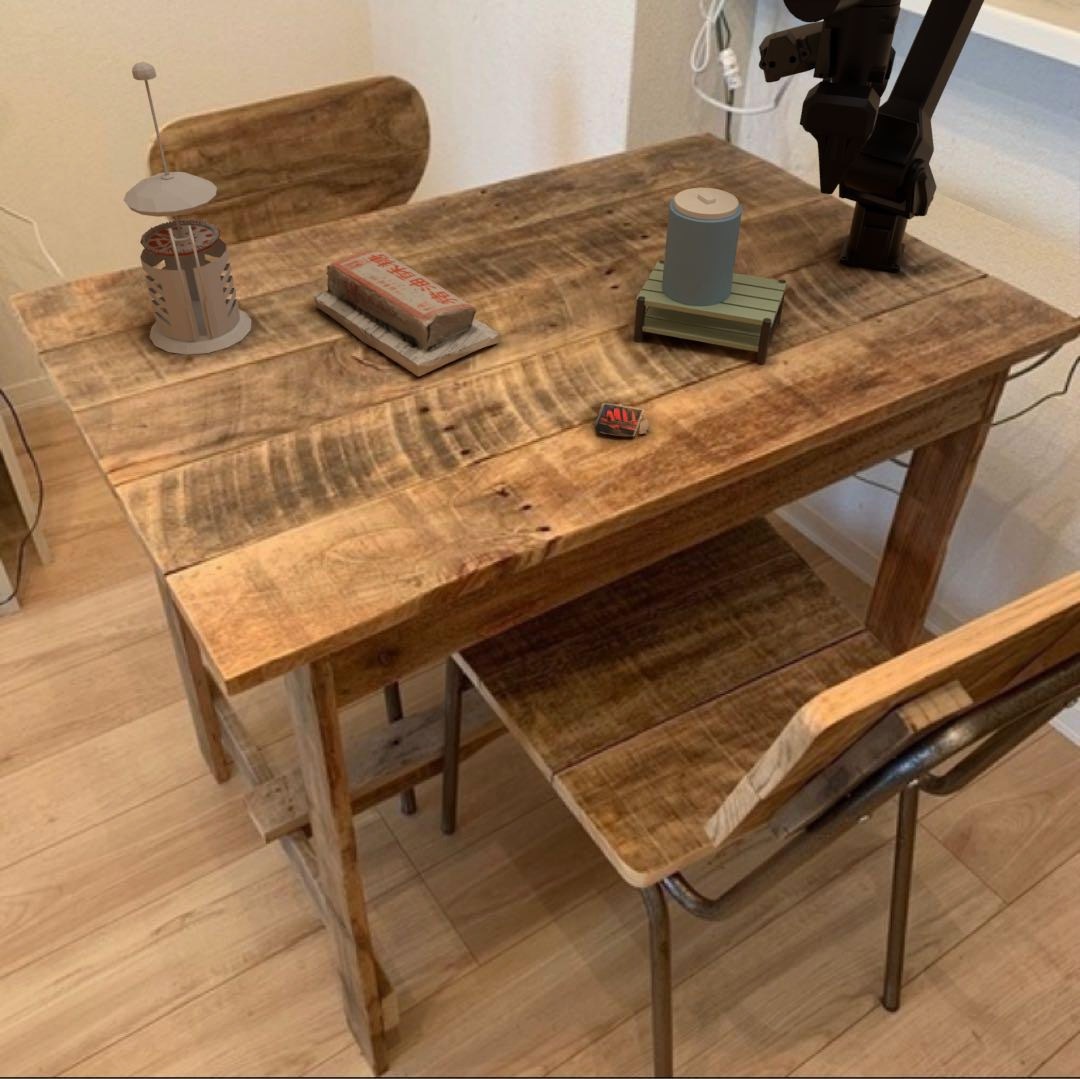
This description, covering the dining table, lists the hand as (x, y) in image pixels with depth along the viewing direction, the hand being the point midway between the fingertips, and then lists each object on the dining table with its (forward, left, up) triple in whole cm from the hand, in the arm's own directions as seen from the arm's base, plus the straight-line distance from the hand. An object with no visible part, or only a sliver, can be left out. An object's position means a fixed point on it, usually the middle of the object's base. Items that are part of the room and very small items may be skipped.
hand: (833, 175), depth 103 cm
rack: (+10, -8, -13) cm, 19 cm away
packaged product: (+20, -37, -13) cm, 44 cm away
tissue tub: (+11, -10, -8) cm, 17 cm away
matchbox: (+29, -12, -13) cm, 34 cm away
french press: (+28, -55, -13) cm, 63 cm away
